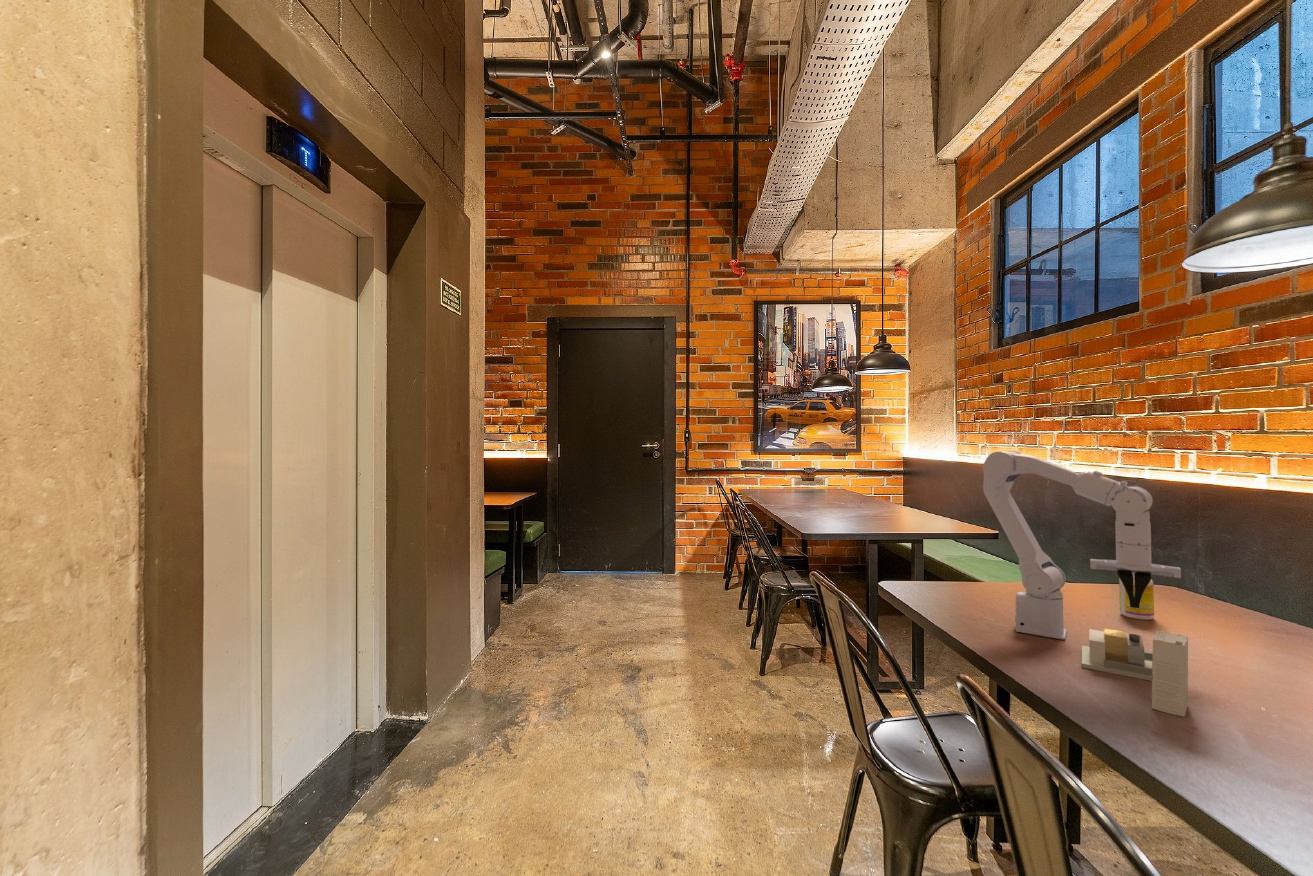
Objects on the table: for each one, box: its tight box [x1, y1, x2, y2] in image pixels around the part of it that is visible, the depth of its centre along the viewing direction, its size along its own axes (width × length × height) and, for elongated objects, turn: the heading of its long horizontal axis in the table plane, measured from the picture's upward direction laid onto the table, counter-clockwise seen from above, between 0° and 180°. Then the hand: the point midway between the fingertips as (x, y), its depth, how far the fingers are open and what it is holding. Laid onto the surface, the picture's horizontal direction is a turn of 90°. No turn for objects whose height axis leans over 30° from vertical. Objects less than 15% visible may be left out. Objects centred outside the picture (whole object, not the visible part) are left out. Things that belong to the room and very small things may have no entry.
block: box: [1103, 628, 1128, 664], centre depth 111 cm, size 4×4×6 cm
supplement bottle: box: [1118, 570, 1155, 621], centre depth 140 cm, size 7×7×13 cm
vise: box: [1081, 628, 1153, 682], centre depth 110 cm, size 14×12×5 cm
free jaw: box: [1126, 633, 1145, 667], centre depth 109 cm, size 2×8×5 cm, turn 142°
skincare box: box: [1151, 630, 1189, 718], centre depth 92 cm, size 6×4×12 cm
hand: (1134, 606), depth 116 cm, fingers closed
